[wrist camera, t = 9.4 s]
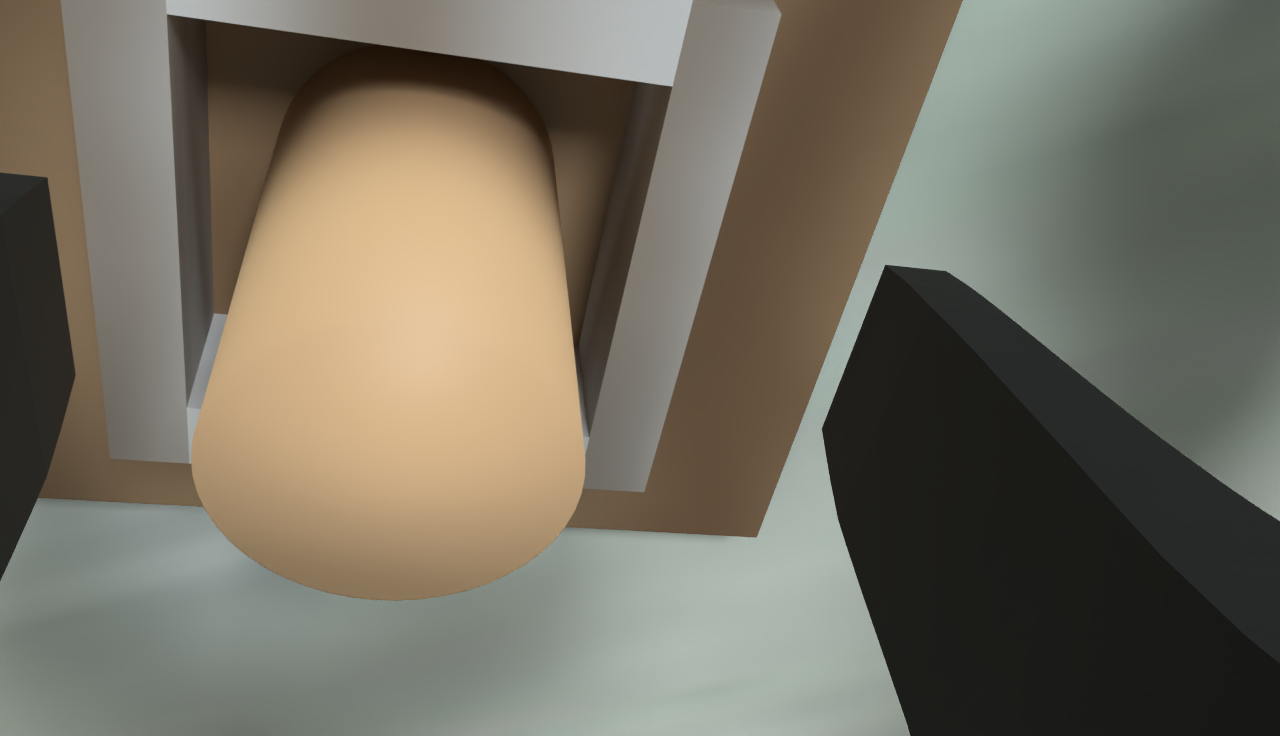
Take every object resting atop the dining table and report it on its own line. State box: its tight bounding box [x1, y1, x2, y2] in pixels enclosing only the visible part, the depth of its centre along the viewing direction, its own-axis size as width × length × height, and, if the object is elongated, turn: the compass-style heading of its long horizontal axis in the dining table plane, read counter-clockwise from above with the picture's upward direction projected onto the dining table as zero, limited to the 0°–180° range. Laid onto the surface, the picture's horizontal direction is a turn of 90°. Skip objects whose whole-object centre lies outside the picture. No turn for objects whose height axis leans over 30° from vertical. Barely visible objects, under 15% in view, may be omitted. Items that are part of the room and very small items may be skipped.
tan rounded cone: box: [191, 44, 585, 601], centre depth 16 cm, size 4×4×7 cm
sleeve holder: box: [0, 0, 963, 537], centre depth 18 cm, size 16×16×4 cm
